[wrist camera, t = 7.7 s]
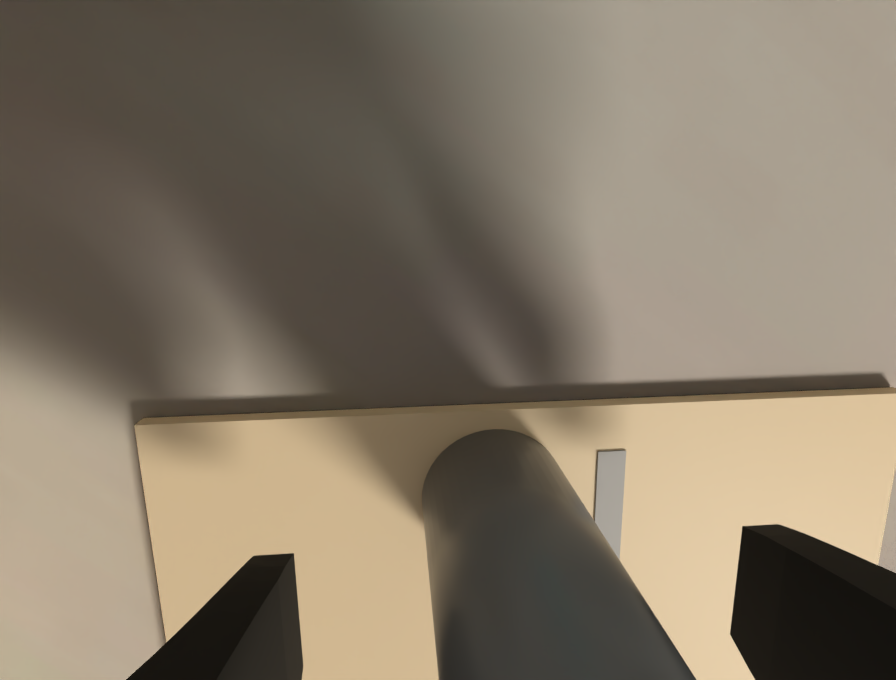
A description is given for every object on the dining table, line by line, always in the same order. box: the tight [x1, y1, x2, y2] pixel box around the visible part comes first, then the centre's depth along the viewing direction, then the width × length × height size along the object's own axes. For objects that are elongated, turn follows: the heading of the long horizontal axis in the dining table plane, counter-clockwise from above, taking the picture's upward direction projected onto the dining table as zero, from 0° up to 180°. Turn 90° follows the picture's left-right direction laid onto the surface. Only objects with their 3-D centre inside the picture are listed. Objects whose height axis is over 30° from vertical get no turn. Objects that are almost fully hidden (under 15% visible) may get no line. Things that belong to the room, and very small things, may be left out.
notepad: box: [134, 387, 896, 680], centre depth 13 cm, size 12×16×1 cm
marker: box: [422, 429, 696, 680], centre depth 8 cm, size 3×3×8 cm
